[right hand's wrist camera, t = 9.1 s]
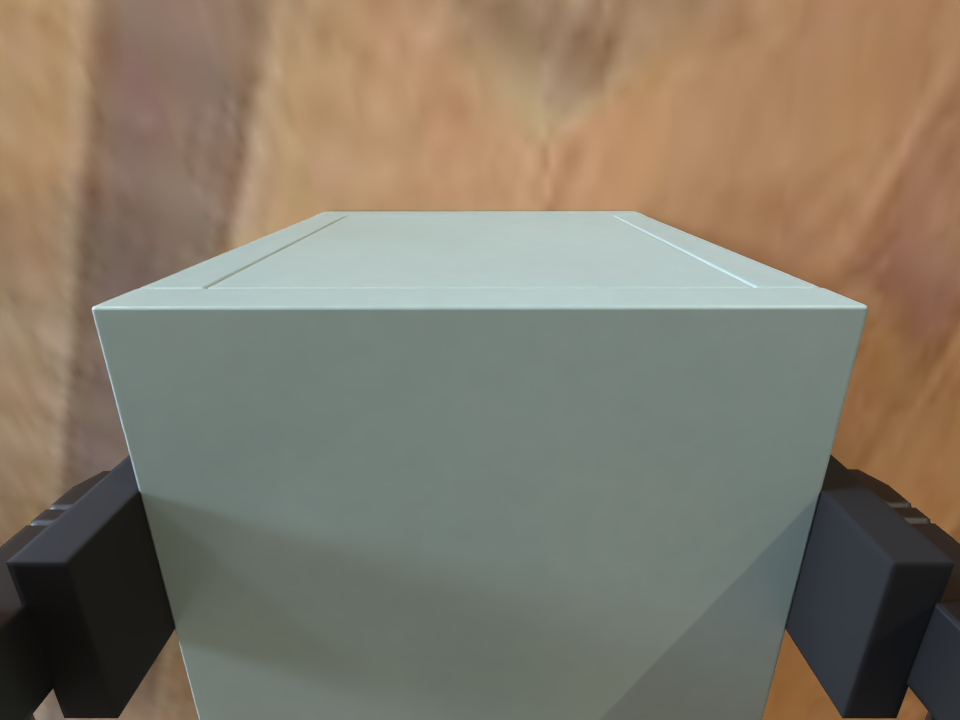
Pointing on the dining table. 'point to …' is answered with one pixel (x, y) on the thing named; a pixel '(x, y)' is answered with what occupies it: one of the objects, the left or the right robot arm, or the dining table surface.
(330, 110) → the dining table surface
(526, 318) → the cabinet
